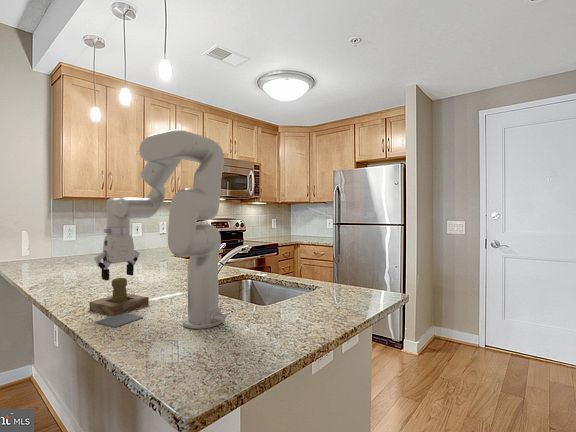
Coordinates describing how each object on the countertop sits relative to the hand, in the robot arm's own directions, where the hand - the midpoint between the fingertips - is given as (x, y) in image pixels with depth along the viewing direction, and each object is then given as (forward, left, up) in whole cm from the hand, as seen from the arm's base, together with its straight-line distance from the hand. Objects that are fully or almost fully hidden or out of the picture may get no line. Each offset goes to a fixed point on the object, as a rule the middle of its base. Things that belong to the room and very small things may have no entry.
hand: (118, 277), depth 119 cm
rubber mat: (-14, +9, -11) cm, 20 cm away
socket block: (-1, 0, -11) cm, 11 cm away
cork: (-1, 0, -12) cm, 12 cm away
